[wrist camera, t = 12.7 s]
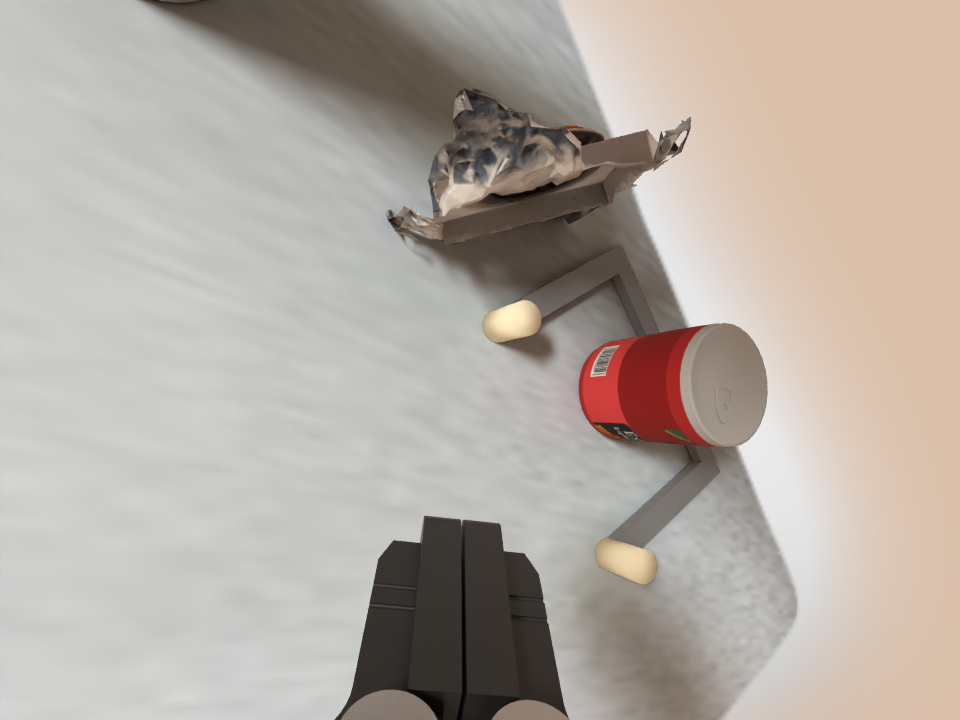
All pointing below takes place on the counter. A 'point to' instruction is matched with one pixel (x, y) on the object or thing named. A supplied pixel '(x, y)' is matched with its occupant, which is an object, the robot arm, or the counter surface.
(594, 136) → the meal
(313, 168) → the counter surface
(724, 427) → the canned food
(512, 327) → the frame
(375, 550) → the counter surface
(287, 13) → the counter surface
